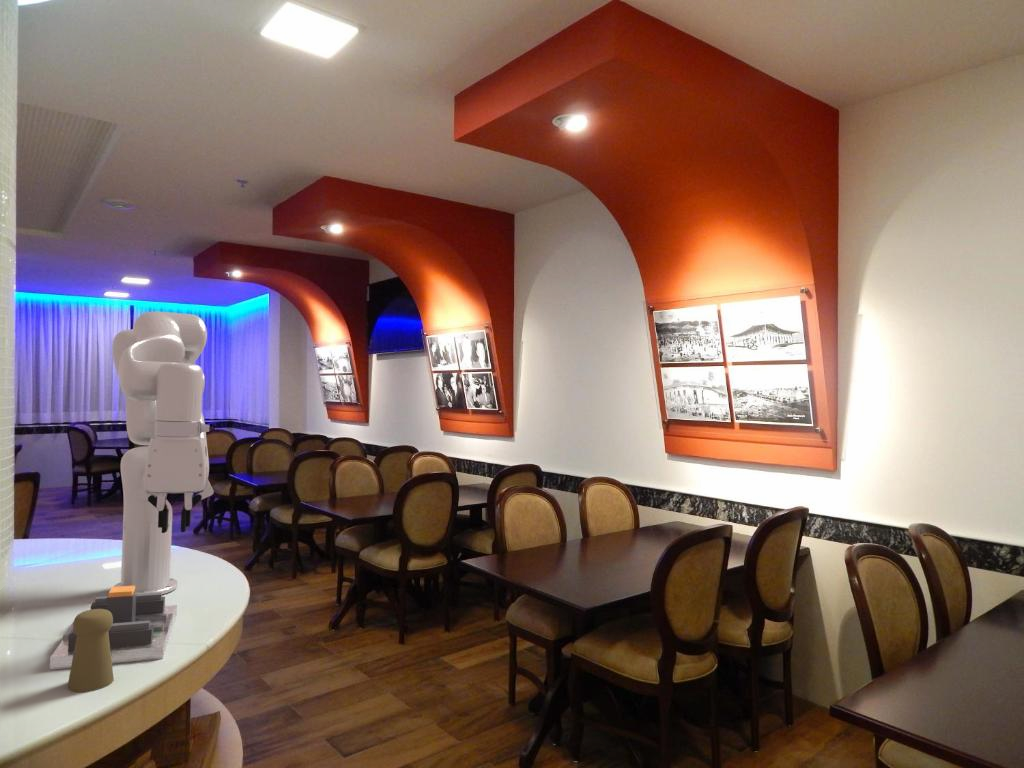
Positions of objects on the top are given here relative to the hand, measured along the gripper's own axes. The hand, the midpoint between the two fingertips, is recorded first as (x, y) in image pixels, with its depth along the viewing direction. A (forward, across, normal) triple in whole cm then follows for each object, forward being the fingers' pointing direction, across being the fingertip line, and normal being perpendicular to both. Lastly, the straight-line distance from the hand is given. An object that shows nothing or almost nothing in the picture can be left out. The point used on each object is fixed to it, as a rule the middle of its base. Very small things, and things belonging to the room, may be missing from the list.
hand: (174, 530), depth 122 cm
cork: (+19, +9, +18) cm, 28 cm away
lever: (+17, +8, 0) cm, 19 cm away
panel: (+19, +8, 0) cm, 21 cm away
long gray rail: (+17, +8, 0) cm, 19 cm away
